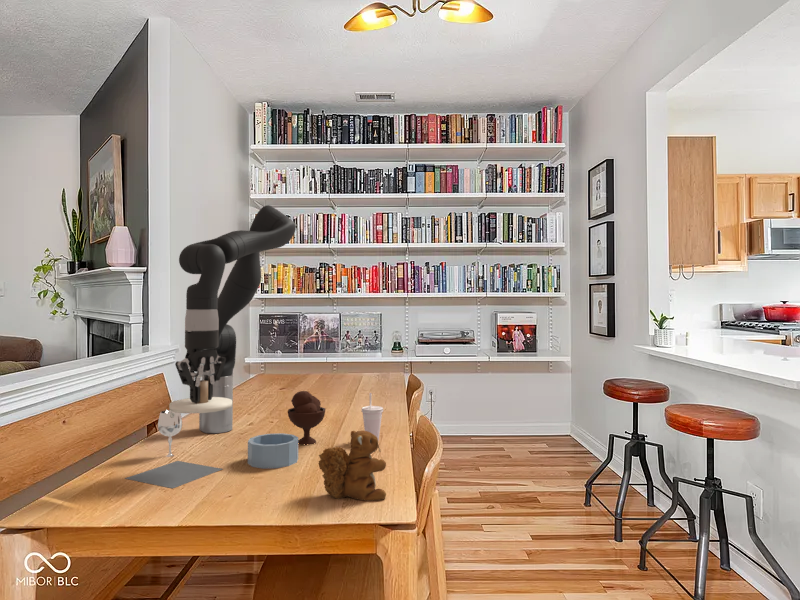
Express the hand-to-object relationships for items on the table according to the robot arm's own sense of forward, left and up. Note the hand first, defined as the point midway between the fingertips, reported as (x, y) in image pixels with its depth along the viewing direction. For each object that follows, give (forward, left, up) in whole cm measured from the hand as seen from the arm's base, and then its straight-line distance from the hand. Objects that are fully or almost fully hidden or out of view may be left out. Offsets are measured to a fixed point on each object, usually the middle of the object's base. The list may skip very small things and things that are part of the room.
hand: (201, 400), depth 129 cm
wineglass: (-16, +5, -17) cm, 24 cm away
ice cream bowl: (+7, +33, -17) cm, 38 cm away
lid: (0, 0, -2) cm, 2 cm away
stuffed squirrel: (+40, +3, -17) cm, 43 cm away
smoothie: (+23, +43, -17) cm, 52 cm away
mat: (-3, -5, -17) cm, 18 cm away
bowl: (+11, +13, -17) cm, 24 cm away
